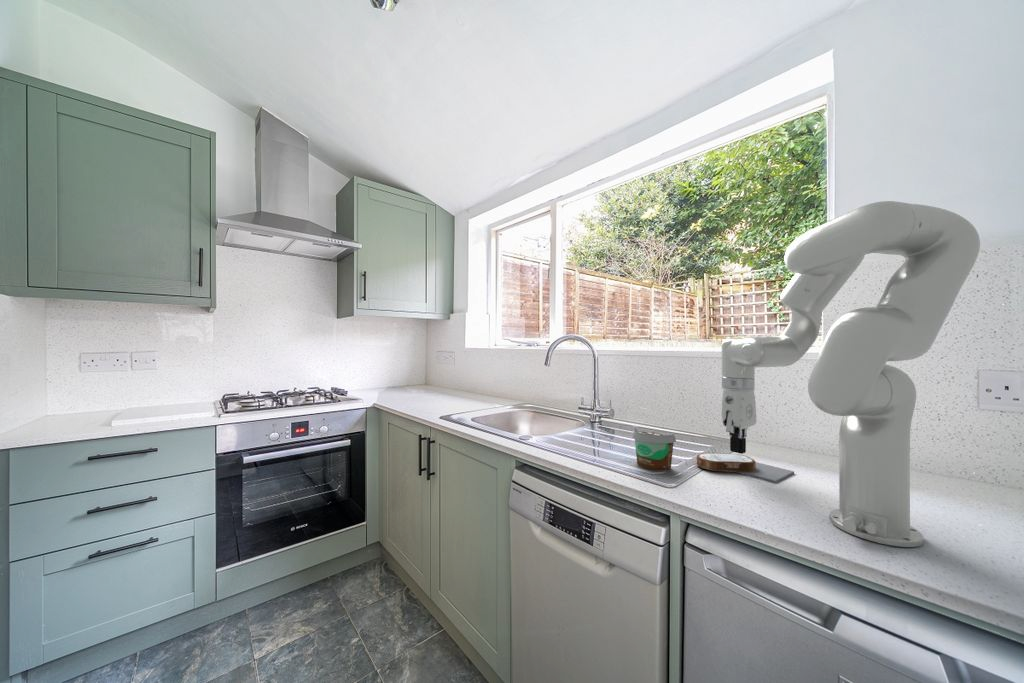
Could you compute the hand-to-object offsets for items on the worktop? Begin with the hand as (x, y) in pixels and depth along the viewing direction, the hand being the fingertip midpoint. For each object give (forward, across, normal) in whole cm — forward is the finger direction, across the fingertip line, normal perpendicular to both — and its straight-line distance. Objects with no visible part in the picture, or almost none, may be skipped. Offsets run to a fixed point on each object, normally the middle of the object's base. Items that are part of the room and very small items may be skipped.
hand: (737, 451), depth 97 cm
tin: (+4, 0, +1) cm, 4 cm away
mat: (+6, +8, 0) cm, 10 cm away
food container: (+6, -14, +17) cm, 23 cm away
